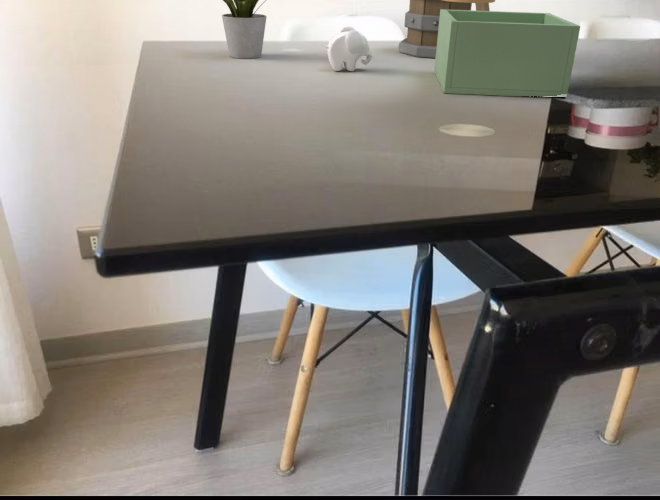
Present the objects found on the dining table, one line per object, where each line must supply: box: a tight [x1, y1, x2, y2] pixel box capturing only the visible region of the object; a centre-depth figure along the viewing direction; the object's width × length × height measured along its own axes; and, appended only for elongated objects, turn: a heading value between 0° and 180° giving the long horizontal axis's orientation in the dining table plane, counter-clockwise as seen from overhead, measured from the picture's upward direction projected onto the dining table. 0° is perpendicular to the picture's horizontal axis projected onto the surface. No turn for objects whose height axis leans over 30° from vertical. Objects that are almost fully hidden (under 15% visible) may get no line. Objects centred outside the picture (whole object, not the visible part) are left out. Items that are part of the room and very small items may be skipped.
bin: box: [434, 9, 581, 98], centre depth 86 cm, size 16×16×9 cm
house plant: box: [221, 0, 267, 59], centre depth 99 cm, size 14×14×16 cm
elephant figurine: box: [320, 25, 375, 72], centre depth 93 cm, size 7×8×6 cm
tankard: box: [398, 0, 491, 59], centre depth 105 cm, size 20×13×15 cm, turn 30°
